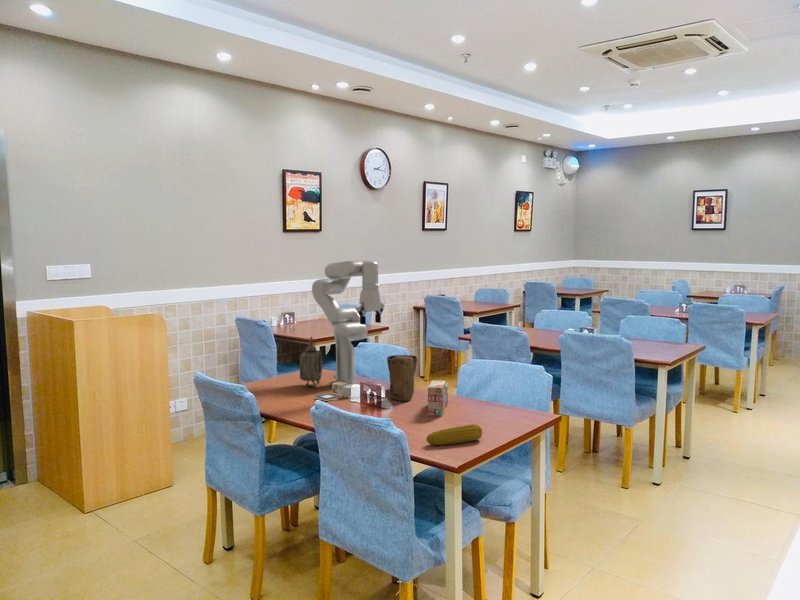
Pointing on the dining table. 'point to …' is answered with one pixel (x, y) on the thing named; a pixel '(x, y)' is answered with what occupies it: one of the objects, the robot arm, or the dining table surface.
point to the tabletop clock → (311, 365)
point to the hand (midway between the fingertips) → (370, 323)
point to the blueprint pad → (327, 396)
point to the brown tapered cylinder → (402, 378)
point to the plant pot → (405, 355)
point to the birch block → (338, 387)
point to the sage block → (347, 390)
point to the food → (455, 435)
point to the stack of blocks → (437, 397)
